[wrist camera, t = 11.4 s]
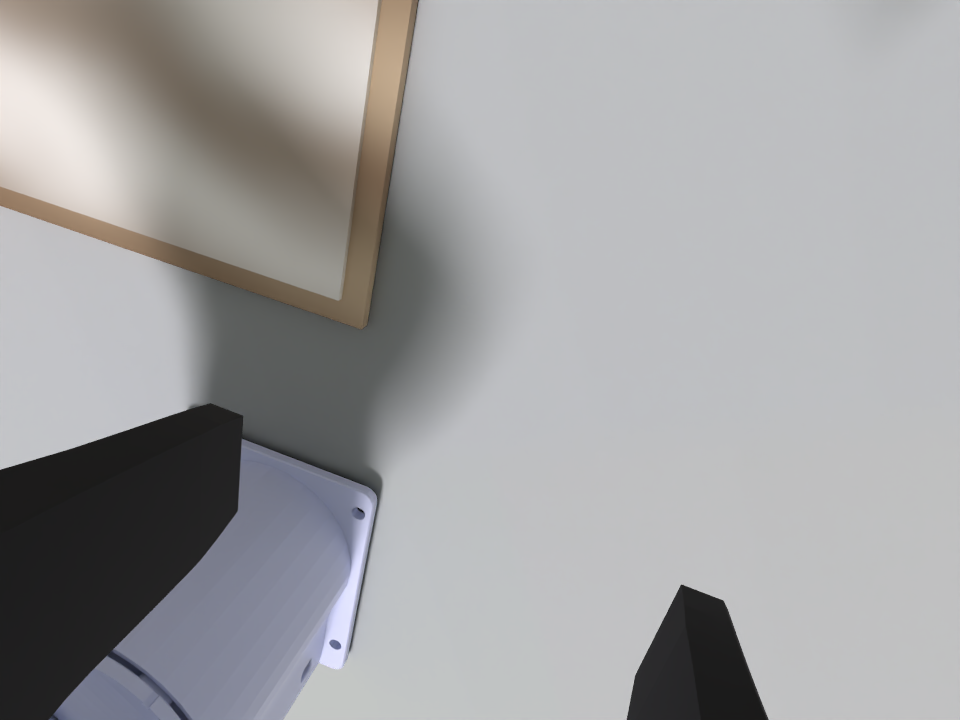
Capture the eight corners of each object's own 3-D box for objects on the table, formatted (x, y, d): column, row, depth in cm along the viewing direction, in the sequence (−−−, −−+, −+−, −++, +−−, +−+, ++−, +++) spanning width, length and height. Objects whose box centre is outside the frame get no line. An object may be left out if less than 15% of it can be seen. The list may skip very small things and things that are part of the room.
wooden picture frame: (367, 325, 22) (358, 331, 21) (-20, 192, 24) (-36, 196, 23) (437, -124, 16) (428, -130, 16) (-76, -239, 18) (-99, -248, 18)
